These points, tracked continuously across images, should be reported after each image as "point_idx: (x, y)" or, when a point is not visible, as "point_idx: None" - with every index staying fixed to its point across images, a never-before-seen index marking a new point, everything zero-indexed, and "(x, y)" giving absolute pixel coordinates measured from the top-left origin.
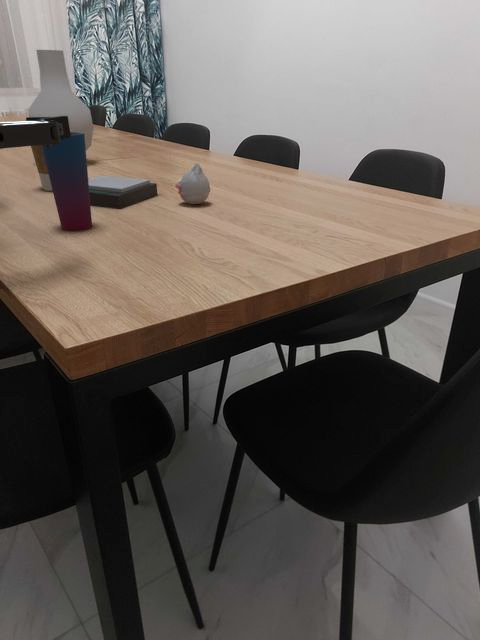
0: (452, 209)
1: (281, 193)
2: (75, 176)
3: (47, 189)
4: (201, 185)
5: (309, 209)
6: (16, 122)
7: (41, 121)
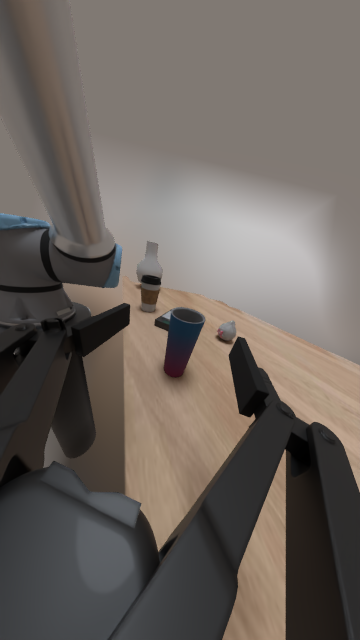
0: (348, 364)
1: (253, 331)
2: (190, 348)
3: (144, 310)
4: (234, 334)
5: (284, 355)
6: (276, 467)
7: (292, 419)
